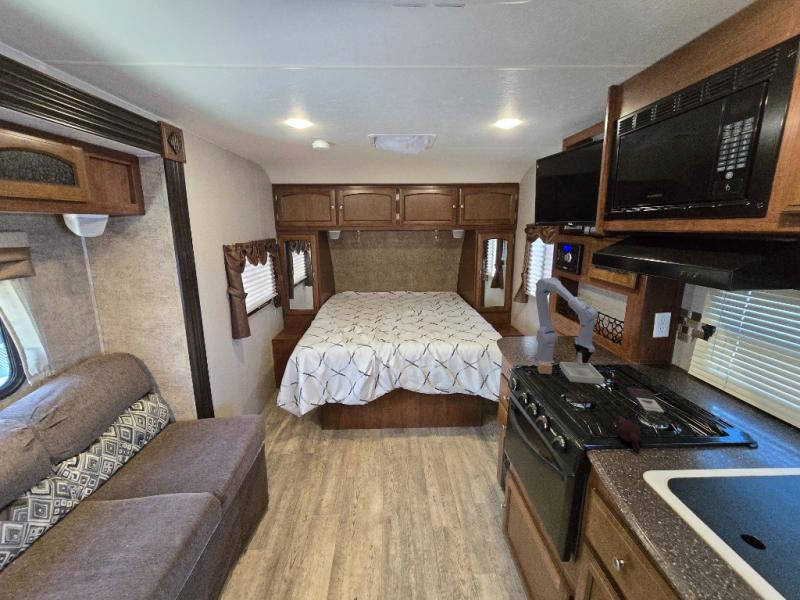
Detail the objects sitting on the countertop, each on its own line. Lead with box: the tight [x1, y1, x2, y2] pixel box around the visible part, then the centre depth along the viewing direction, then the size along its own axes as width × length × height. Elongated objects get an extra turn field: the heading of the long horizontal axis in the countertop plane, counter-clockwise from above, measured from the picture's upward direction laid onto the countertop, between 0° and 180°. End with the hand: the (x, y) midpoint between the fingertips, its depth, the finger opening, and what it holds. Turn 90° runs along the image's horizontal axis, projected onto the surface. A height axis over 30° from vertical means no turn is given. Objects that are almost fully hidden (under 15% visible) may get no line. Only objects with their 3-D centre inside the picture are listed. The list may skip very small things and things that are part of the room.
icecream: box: [614, 415, 642, 453], centre depth 109 cm, size 7×7×15 cm
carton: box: [537, 361, 553, 375], centre depth 158 cm, size 4×6×4 cm
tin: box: [576, 351, 587, 365], centre depth 153 cm, size 4×4×6 cm
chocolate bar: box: [624, 386, 669, 415], centre depth 133 cm, size 9×1×18 cm
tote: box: [559, 361, 605, 385], centre depth 155 cm, size 16×14×3 cm
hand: (582, 360), depth 154 cm, fingers closed on tin, 4 cm apart
